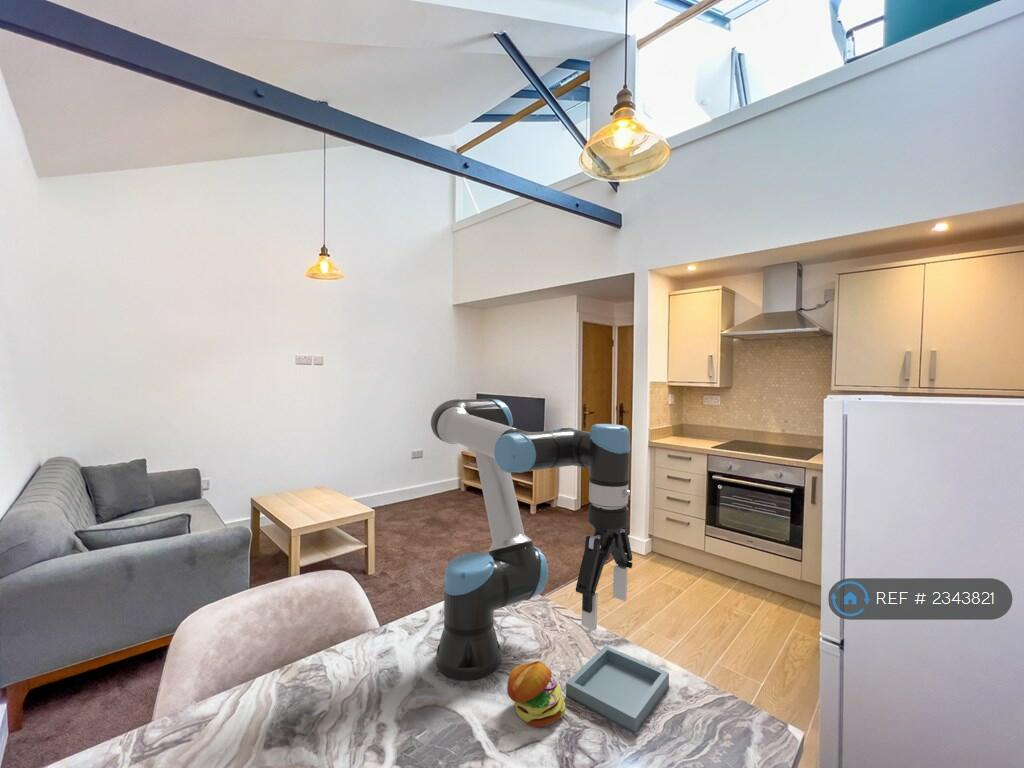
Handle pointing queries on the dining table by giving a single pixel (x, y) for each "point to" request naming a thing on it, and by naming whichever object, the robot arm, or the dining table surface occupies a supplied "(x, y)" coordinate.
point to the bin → (618, 688)
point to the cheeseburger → (535, 694)
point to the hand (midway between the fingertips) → (605, 612)
